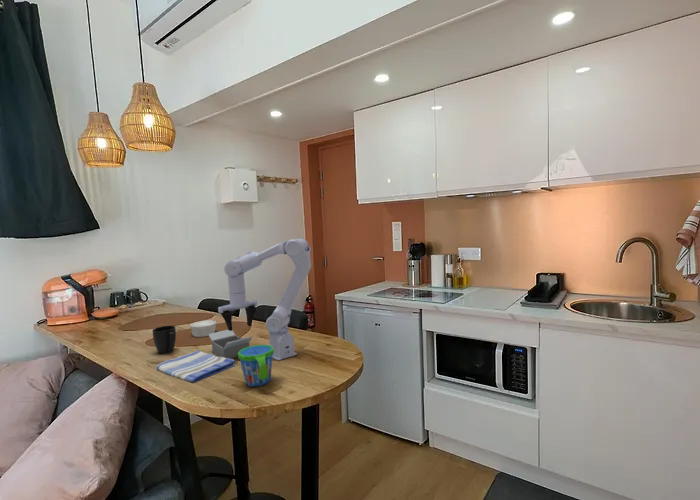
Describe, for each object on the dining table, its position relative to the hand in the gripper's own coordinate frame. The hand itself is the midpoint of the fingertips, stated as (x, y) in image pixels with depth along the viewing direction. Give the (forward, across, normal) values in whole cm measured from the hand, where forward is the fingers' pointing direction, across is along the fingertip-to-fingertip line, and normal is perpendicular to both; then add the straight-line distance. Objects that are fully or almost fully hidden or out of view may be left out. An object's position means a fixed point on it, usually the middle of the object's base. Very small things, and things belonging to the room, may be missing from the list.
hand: (240, 328), depth 138 cm
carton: (+10, +2, -5) cm, 11 cm away
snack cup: (+10, +7, +28) cm, 31 cm away
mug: (+10, +20, -26) cm, 34 cm away
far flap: (+4, +2, -13) cm, 14 cm away
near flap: (+4, +3, +3) cm, 6 cm away
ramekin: (+10, 0, -41) cm, 42 cm away
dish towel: (+11, +17, 0) cm, 20 cm away
